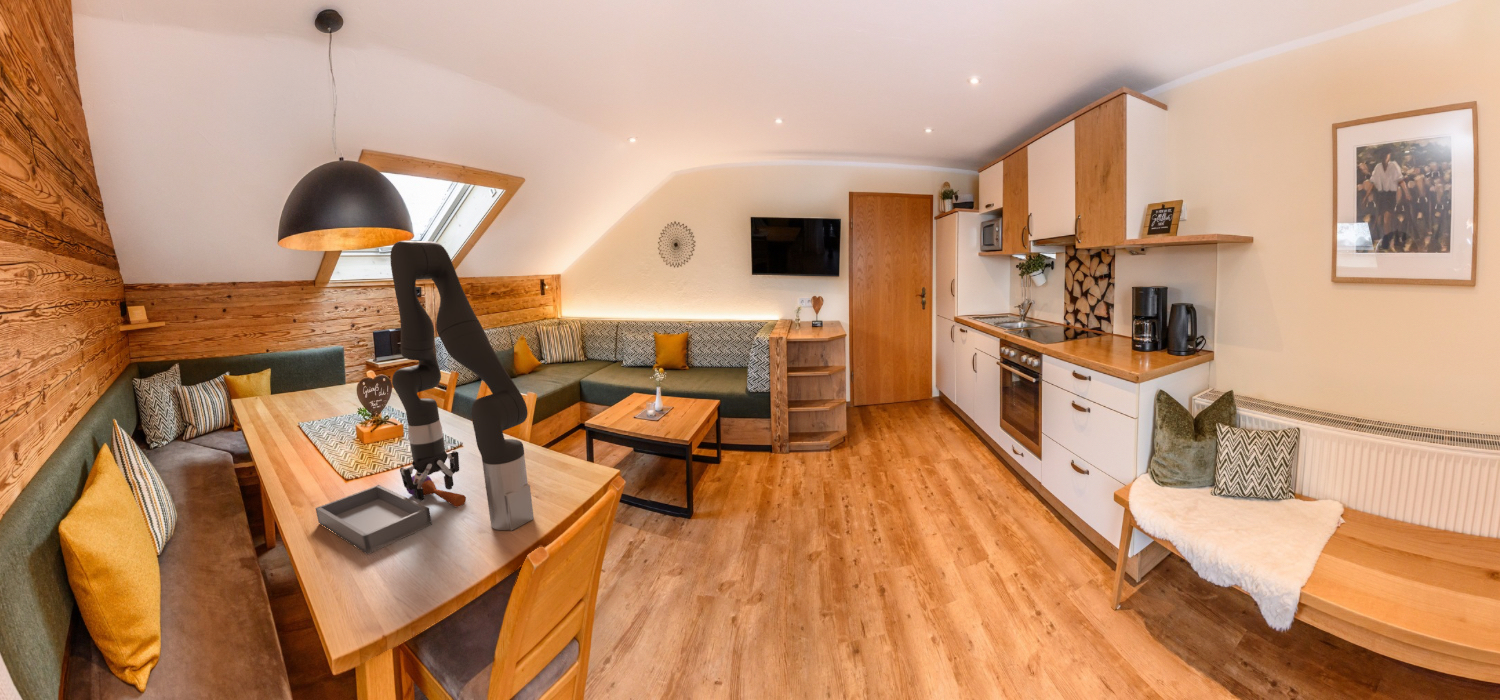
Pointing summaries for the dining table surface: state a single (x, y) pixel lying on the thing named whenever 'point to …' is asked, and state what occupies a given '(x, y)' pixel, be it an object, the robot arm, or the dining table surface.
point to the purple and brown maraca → (440, 493)
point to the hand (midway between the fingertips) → (435, 494)
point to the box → (374, 518)
